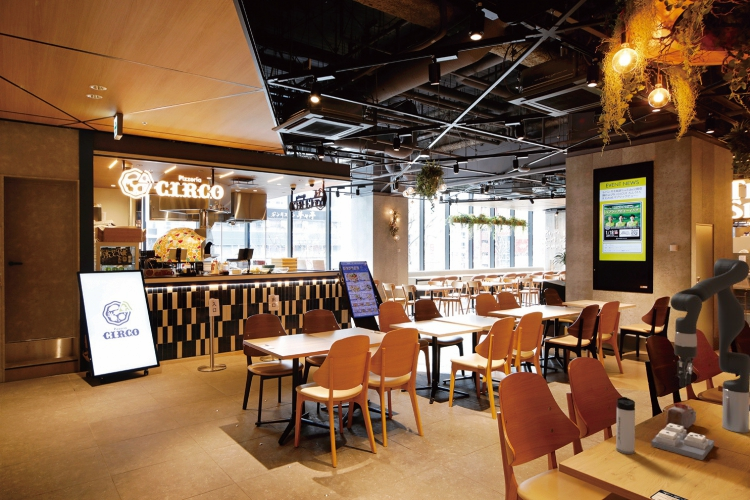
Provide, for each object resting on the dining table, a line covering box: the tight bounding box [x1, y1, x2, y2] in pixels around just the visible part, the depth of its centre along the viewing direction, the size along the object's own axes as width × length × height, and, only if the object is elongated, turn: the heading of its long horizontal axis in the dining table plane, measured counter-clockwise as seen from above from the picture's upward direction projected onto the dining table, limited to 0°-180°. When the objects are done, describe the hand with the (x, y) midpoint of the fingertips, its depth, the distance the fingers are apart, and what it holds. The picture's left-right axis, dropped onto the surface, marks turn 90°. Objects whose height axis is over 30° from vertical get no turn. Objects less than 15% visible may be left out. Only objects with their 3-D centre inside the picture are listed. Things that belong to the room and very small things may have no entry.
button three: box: [687, 432, 706, 443], centre depth 183 cm, size 5×5×2 cm
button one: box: [658, 428, 677, 440], centre depth 186 cm, size 5×5×2 cm
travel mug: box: [615, 396, 636, 455], centre depth 181 cm, size 6×7×20 cm
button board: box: [650, 427, 715, 461], centre depth 186 cm, size 19×17×4 cm
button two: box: [665, 423, 685, 433], centre depth 193 cm, size 5×5×2 cm
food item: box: [666, 402, 697, 430], centre depth 208 cm, size 14×8×10 cm, turn 127°
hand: (684, 385), depth 187 cm, fingers open, 6 cm apart
